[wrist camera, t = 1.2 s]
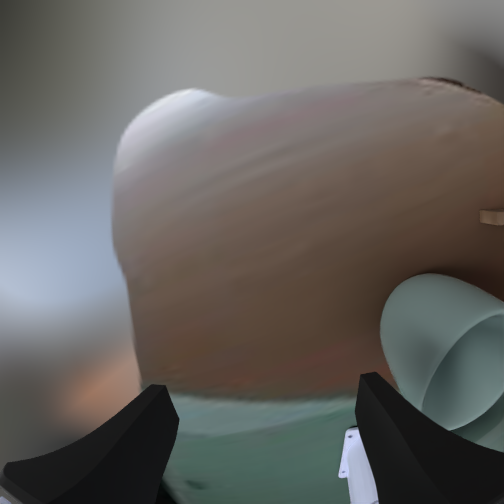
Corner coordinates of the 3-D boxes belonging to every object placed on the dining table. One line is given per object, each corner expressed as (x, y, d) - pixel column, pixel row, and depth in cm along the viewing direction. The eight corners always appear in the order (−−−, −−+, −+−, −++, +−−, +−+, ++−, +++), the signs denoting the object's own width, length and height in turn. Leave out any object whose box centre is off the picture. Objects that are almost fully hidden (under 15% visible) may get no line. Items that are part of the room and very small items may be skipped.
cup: (373, 261, 19) (443, 314, 9) (456, 261, 18) (540, 300, 8) (360, 356, 20) (397, 445, 10) (439, 347, 19) (496, 414, 9)
